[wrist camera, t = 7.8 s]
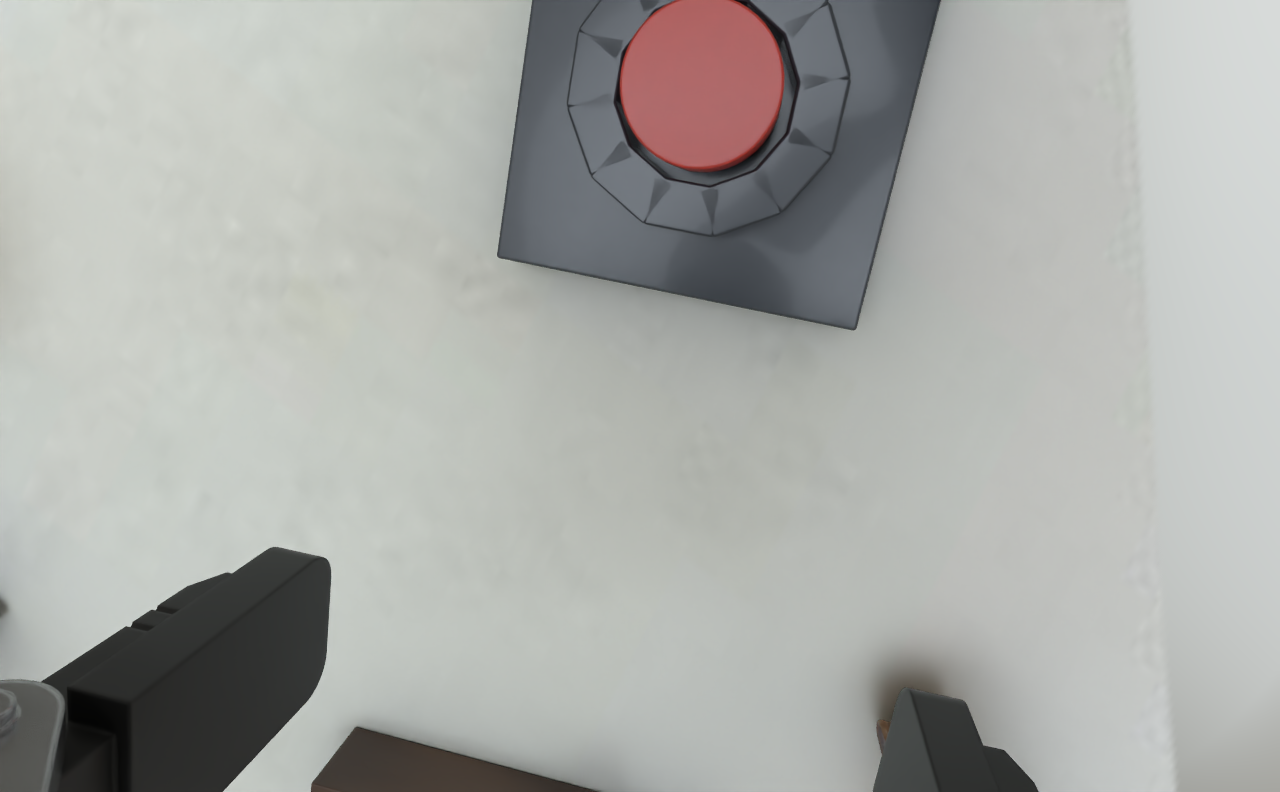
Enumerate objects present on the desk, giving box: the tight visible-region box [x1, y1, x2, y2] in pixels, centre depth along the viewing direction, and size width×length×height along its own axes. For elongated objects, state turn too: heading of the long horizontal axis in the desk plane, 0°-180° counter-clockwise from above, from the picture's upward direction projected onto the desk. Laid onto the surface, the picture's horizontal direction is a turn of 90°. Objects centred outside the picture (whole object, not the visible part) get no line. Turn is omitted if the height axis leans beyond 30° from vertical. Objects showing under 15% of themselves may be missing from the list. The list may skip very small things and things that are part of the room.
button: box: [620, 0, 784, 172], centre depth 18 cm, size 4×4×2 cm
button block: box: [497, 0, 941, 330], centre depth 21 cm, size 10×10×4 cm
